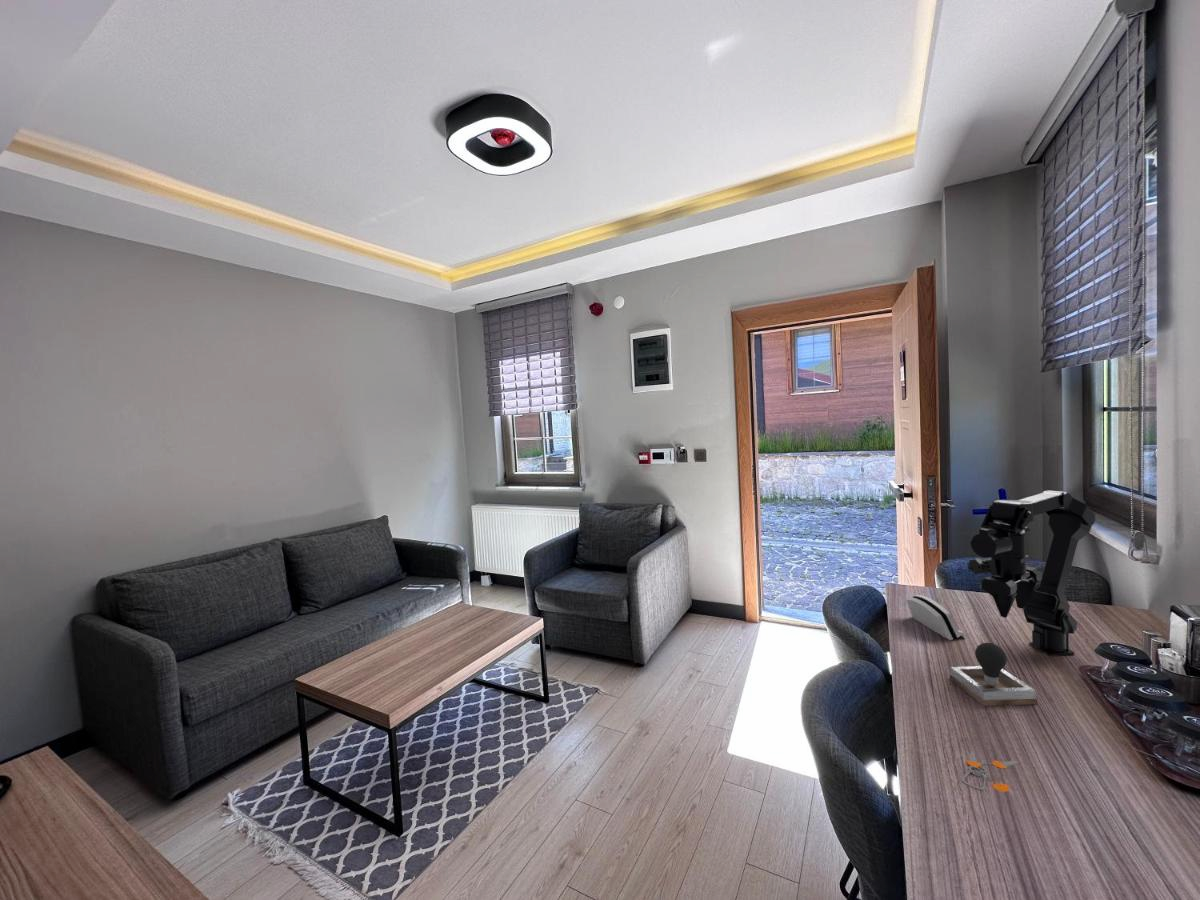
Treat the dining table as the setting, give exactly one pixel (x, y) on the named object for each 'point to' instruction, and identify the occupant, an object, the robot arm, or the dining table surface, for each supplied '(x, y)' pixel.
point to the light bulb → (991, 661)
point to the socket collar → (1014, 693)
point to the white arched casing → (933, 616)
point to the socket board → (1000, 685)
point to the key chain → (977, 765)
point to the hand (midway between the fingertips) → (1012, 612)
